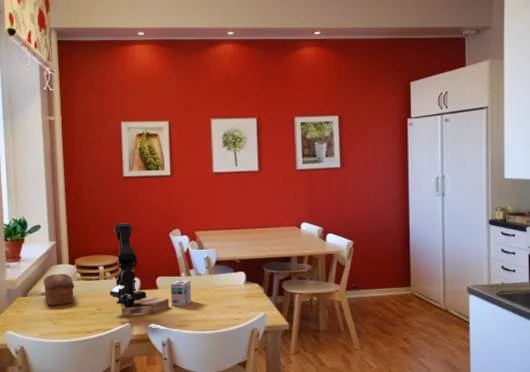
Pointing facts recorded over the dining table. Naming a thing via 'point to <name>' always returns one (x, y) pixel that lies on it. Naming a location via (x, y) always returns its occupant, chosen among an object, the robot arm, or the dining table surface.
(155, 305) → the brown piece
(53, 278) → the bread
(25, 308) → the dining table surface
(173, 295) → the light bulb box
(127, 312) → the flap
